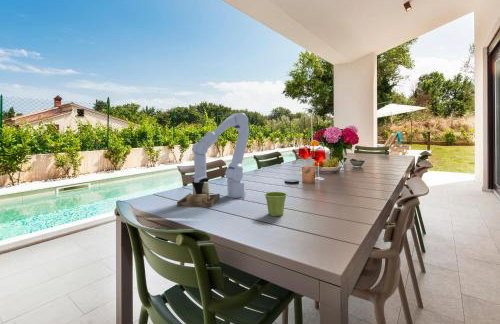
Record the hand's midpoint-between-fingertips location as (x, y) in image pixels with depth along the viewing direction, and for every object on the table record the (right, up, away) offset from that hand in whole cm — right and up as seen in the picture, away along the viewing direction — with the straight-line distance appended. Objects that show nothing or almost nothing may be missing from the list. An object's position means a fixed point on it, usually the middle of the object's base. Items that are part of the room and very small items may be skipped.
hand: (201, 194), depth 140 cm
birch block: (0, -3, 0) cm, 3 cm away
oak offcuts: (-1, -4, -8) cm, 9 cm away
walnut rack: (0, -4, -2) cm, 5 cm away
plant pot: (+35, -6, -21) cm, 41 cm away
